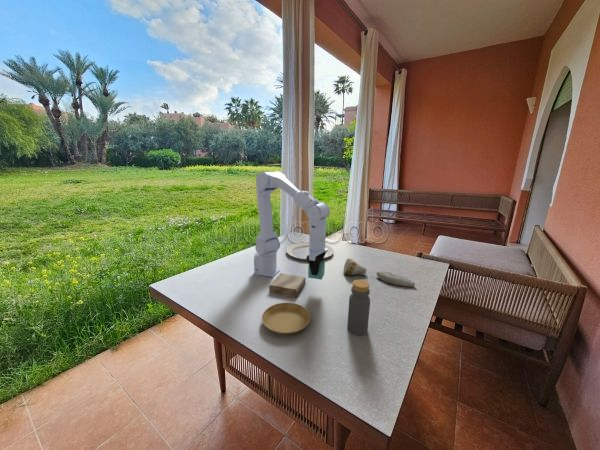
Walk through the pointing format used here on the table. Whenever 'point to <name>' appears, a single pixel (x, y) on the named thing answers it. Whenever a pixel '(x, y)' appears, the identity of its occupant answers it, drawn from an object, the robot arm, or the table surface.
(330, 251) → the plate
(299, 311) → the plant saucer
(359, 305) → the bottle
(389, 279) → the decorative stone
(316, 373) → the table surface
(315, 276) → the teal cube
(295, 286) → the walnut plinth
